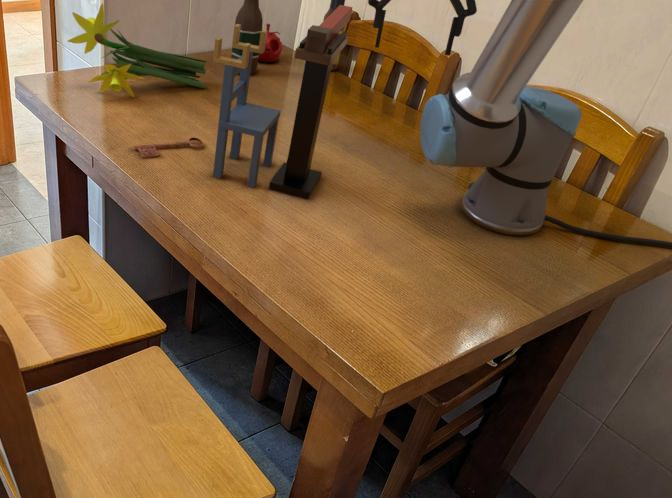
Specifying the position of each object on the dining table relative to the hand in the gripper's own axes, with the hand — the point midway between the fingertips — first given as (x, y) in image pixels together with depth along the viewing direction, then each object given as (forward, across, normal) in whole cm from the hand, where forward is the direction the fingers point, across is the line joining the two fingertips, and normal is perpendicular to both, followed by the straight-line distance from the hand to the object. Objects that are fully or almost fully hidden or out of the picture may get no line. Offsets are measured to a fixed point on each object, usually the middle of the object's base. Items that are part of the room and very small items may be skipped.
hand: (411, 51), depth 127 cm
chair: (+25, +29, +14) cm, 41 cm away
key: (+24, +44, +11) cm, 52 cm away
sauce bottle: (+4, +20, -58) cm, 61 cm away
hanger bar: (0, +15, +18) cm, 23 cm away
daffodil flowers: (+14, +61, -17) cm, 65 cm away
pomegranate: (+4, +38, -55) cm, 67 cm away
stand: (+26, +17, +15) cm, 35 cm away
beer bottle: (+8, +41, -43) cm, 60 cm away
